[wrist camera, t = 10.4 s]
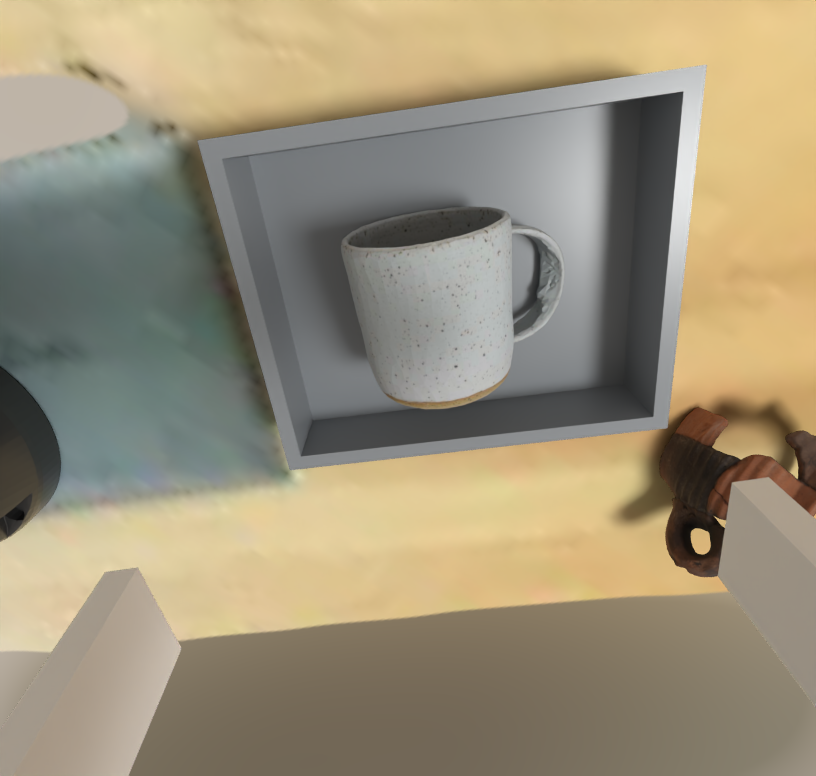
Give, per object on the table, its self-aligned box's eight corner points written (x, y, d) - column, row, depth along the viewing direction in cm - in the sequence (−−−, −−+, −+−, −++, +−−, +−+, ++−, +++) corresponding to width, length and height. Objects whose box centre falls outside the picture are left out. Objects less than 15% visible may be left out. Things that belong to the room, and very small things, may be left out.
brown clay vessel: (717, 360, 31) (876, 426, 25) (750, 409, 38) (885, 471, 31) (603, 516, 33) (727, 614, 27) (653, 537, 39) (764, 621, 33)
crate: (305, 425, 33) (289, 470, 28) (234, 140, 25) (197, 140, 21) (630, 387, 31) (667, 428, 27) (651, 79, 24) (706, 64, 20)
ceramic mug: (379, 367, 30) (373, 435, 23) (346, 224, 26) (329, 253, 19) (559, 335, 29) (611, 395, 22) (552, 184, 26) (610, 199, 19)
